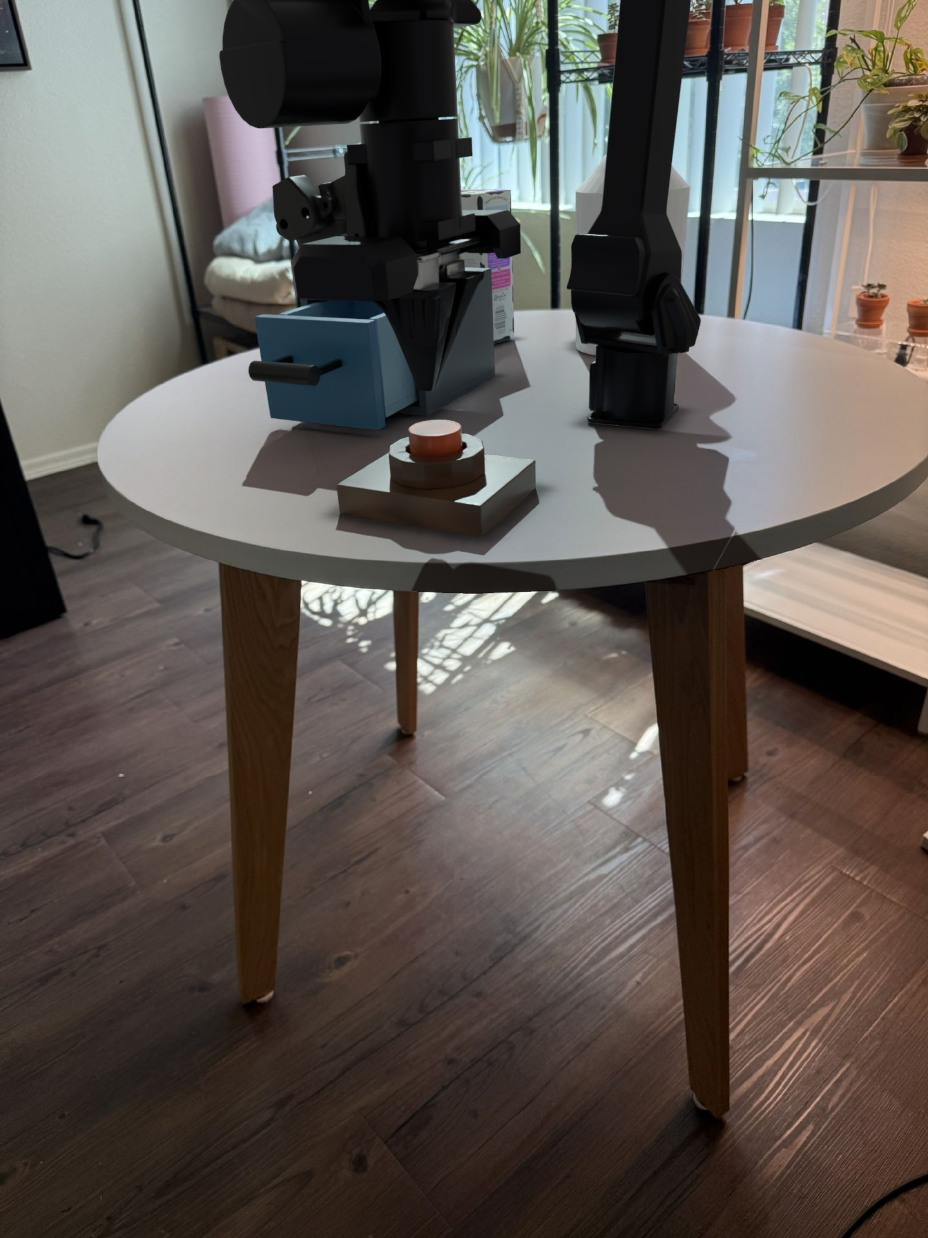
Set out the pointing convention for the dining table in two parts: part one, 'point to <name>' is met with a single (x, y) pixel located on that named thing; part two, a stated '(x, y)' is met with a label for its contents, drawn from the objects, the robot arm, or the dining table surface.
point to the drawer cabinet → (461, 353)
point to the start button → (435, 438)
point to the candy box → (493, 262)
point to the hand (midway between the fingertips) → (427, 389)
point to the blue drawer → (332, 365)
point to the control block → (439, 488)
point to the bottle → (590, 208)
